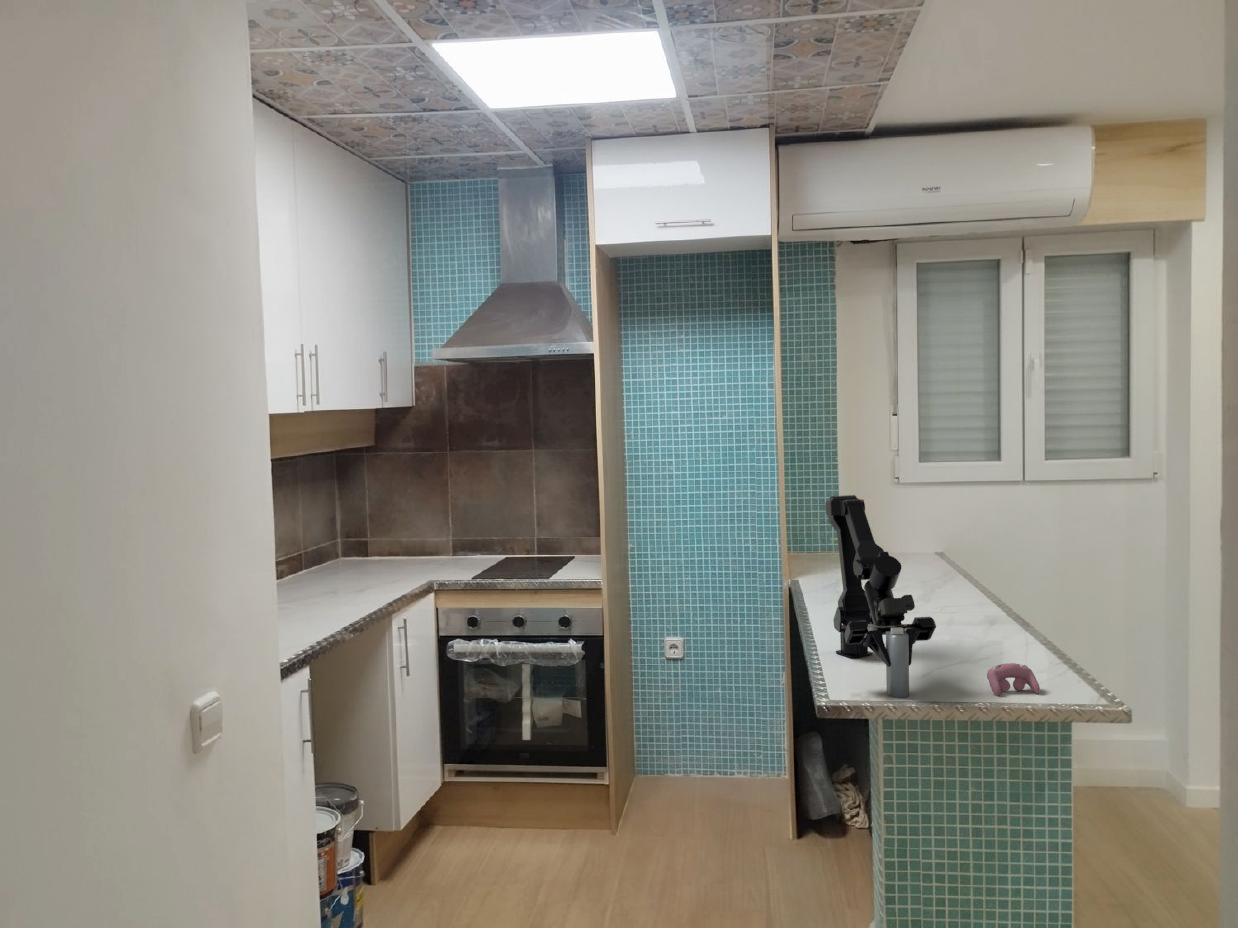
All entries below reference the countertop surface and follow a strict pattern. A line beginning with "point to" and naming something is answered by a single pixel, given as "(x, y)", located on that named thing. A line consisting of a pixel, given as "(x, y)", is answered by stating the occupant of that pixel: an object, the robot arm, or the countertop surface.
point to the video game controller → (1011, 671)
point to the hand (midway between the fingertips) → (899, 665)
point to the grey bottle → (897, 663)
